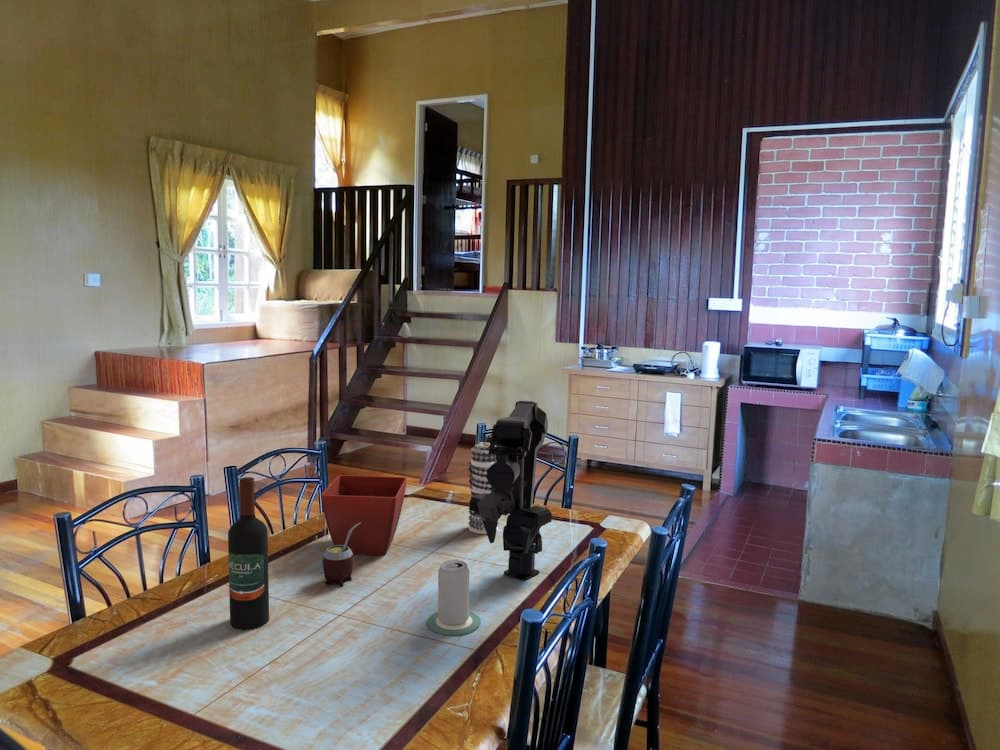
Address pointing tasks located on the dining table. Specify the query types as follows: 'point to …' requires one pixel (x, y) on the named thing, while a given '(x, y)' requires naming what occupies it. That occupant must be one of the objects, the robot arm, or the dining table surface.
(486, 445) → the decorative candle
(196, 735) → the dining table surface
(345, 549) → the mate gourd
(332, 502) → the plant pot
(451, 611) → the beverage can
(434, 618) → the coaster
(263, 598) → the wine bottle
